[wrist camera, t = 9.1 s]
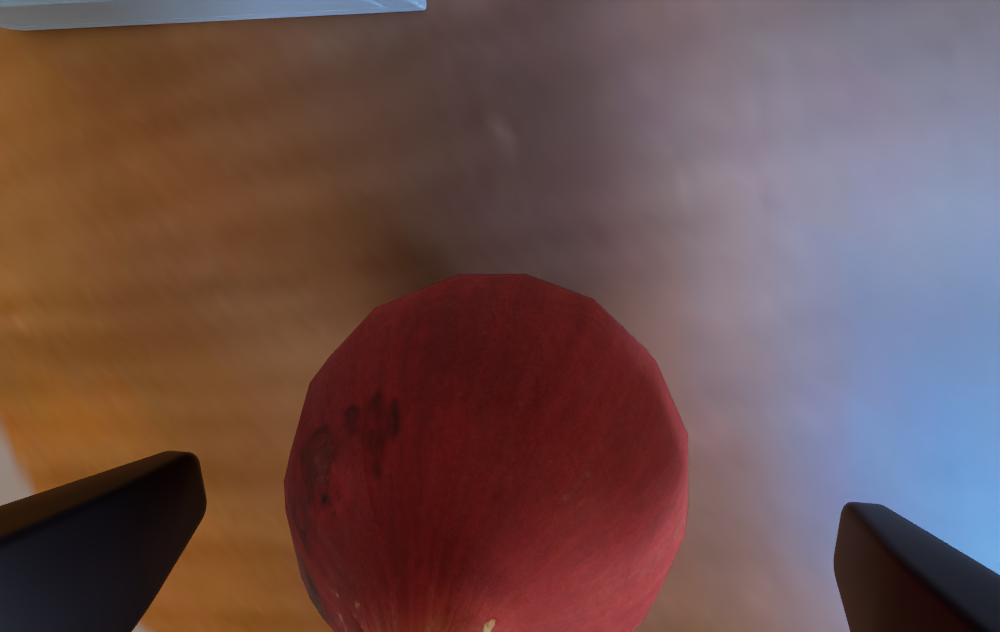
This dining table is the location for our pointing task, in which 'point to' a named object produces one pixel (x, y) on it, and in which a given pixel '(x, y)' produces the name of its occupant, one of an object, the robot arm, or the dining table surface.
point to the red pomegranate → (487, 466)
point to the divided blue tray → (177, 11)
